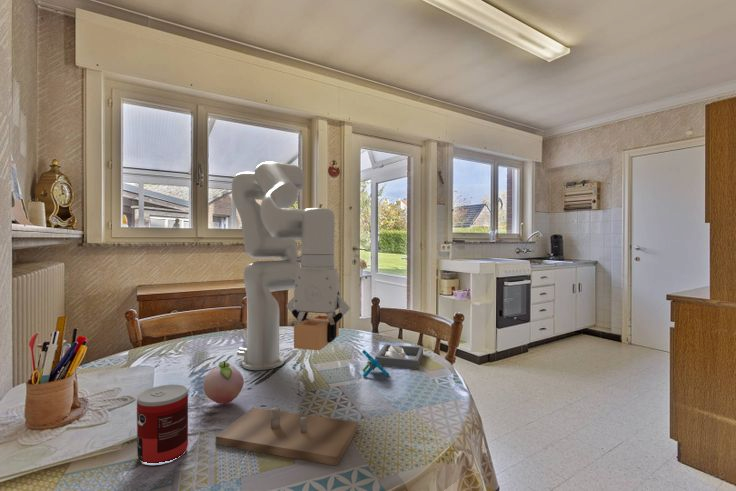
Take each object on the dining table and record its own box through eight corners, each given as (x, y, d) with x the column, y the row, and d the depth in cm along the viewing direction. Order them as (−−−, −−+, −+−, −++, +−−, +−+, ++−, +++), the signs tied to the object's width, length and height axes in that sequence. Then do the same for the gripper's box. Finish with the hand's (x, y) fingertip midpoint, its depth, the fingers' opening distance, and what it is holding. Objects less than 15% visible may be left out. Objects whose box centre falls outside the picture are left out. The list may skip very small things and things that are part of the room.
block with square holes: (319, 350, 76) (319, 327, 76) (293, 348, 78) (293, 325, 78) (338, 335, 88) (338, 315, 88) (315, 333, 89) (315, 314, 89)
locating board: (215, 444, 67) (215, 417, 67) (252, 414, 78) (252, 391, 78) (337, 465, 61) (337, 436, 60) (357, 429, 72) (357, 404, 72)
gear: (394, 376, 96) (368, 350, 95) (379, 394, 95) (352, 368, 94) (386, 367, 107) (362, 344, 106) (372, 383, 105) (348, 359, 105)
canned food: (151, 442, 67) (150, 384, 67) (195, 441, 68) (194, 383, 68) (127, 468, 60) (126, 403, 59) (177, 466, 60) (176, 401, 60)
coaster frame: (375, 365, 109) (375, 356, 109) (385, 351, 123) (385, 344, 123) (417, 369, 106) (417, 360, 106) (423, 354, 119) (423, 347, 119)
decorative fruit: (199, 402, 84) (199, 360, 84) (234, 393, 89) (234, 353, 89) (209, 418, 76) (209, 371, 76) (247, 407, 81) (247, 363, 81)
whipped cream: (392, 357, 120) (391, 342, 120) (410, 358, 116) (409, 343, 117) (380, 362, 113) (380, 347, 113) (400, 364, 110) (399, 348, 110)
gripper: (276, 262, 81) (275, 341, 81) (348, 264, 77) (347, 347, 77) (291, 260, 88) (291, 332, 89) (358, 261, 84) (357, 338, 84)
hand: (317, 339), depth 83 cm, fingers closed on block with square holes, 6 cm apart
